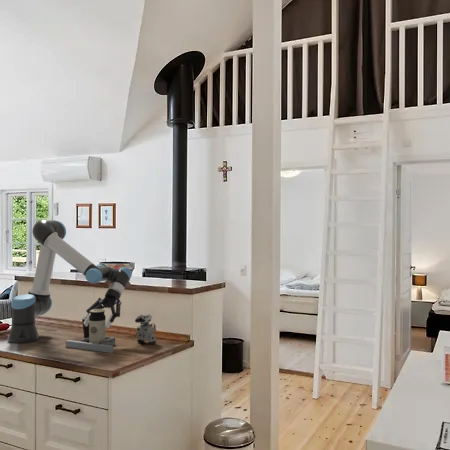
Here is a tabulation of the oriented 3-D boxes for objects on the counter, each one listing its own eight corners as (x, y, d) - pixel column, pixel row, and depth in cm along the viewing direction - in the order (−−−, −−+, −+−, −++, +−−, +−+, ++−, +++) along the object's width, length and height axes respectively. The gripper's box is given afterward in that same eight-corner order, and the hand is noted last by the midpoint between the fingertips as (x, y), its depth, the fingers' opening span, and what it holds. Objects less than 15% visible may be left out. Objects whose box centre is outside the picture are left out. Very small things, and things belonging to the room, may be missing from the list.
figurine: (129, 345, 254) (129, 315, 254) (144, 340, 264) (145, 312, 264) (143, 347, 249) (143, 317, 249) (158, 343, 259) (158, 314, 259)
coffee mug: (88, 338, 269) (88, 320, 269) (78, 336, 274) (78, 318, 274) (105, 334, 278) (105, 317, 278) (95, 332, 283) (95, 315, 283)
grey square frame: (79, 347, 249) (79, 340, 249) (95, 342, 261) (95, 335, 261) (99, 349, 244) (99, 342, 244) (115, 344, 255) (115, 337, 255)
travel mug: (97, 343, 258) (97, 308, 258) (108, 345, 254) (108, 309, 254) (85, 346, 251) (85, 310, 251) (97, 348, 247) (97, 312, 247)
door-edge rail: (65, 346, 250) (65, 340, 250) (68, 345, 252) (68, 340, 252) (110, 352, 238) (110, 346, 238) (113, 351, 240) (113, 345, 240)
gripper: (136, 298, 262) (119, 332, 248) (99, 295, 273) (80, 328, 259) (130, 289, 257) (112, 323, 243) (92, 286, 268) (72, 319, 254)
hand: (95, 326), depth 251 cm, fingers open, 13 cm apart
